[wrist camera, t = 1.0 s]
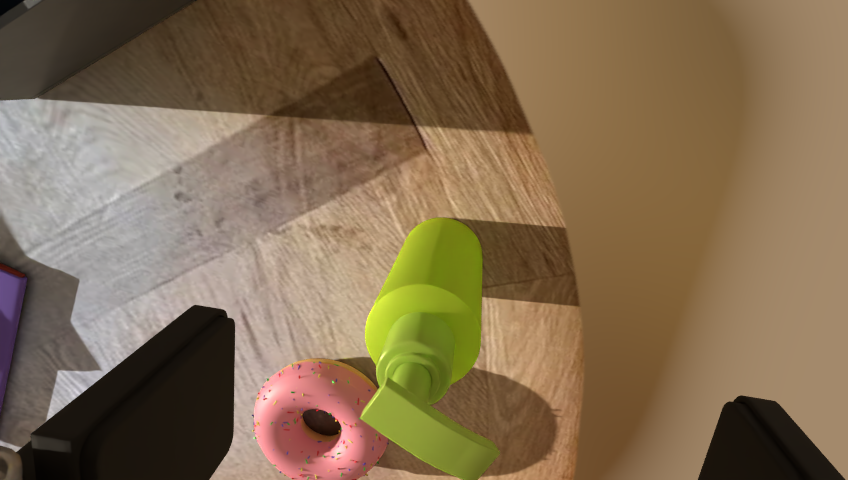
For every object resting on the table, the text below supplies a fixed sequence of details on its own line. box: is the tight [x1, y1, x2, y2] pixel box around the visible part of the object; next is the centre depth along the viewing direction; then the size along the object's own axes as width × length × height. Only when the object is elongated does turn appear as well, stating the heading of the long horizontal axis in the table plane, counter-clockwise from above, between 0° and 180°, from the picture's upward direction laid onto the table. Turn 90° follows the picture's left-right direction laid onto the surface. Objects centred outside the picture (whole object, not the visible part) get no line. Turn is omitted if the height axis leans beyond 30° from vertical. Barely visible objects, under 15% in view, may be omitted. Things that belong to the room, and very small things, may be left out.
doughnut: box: [252, 358, 389, 480], centre depth 42 cm, size 11×11×4 cm
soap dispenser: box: [360, 218, 500, 480], centre depth 30 cm, size 6×7×20 cm
